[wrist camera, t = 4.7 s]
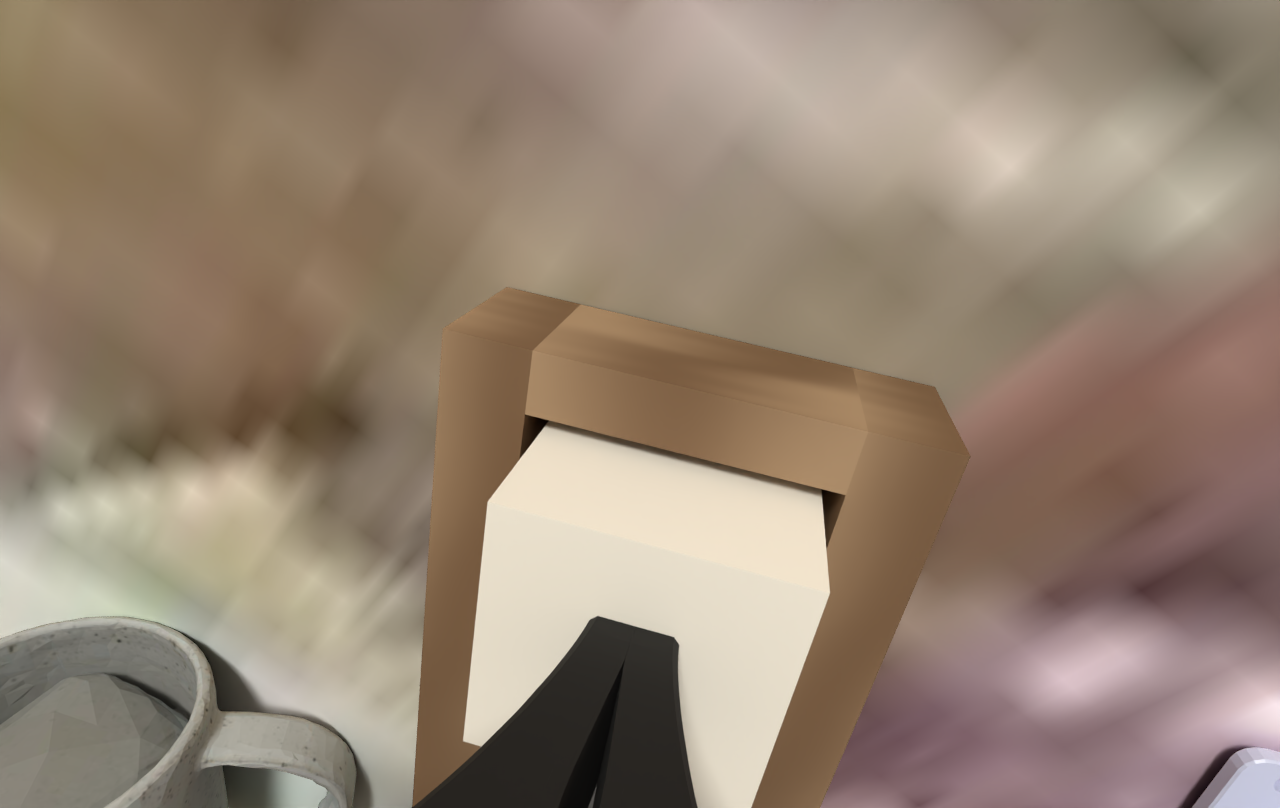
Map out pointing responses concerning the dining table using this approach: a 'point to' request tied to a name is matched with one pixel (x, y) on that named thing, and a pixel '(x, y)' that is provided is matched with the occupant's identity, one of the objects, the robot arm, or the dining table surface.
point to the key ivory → (653, 588)
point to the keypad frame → (703, 428)
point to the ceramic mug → (138, 723)
